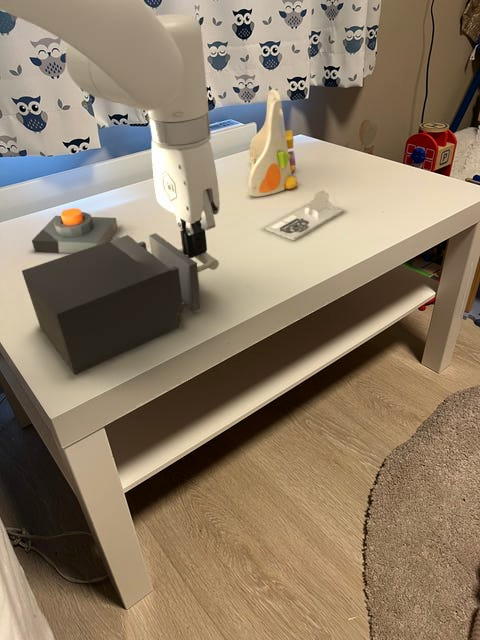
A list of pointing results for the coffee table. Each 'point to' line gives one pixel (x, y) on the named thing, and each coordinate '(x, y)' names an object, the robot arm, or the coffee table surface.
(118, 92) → the robot arm
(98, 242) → the control block
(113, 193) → the coffee table surface
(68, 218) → the button
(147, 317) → the drawer box
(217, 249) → the coffee table surface
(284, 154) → the shape sorter
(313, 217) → the white stand base
